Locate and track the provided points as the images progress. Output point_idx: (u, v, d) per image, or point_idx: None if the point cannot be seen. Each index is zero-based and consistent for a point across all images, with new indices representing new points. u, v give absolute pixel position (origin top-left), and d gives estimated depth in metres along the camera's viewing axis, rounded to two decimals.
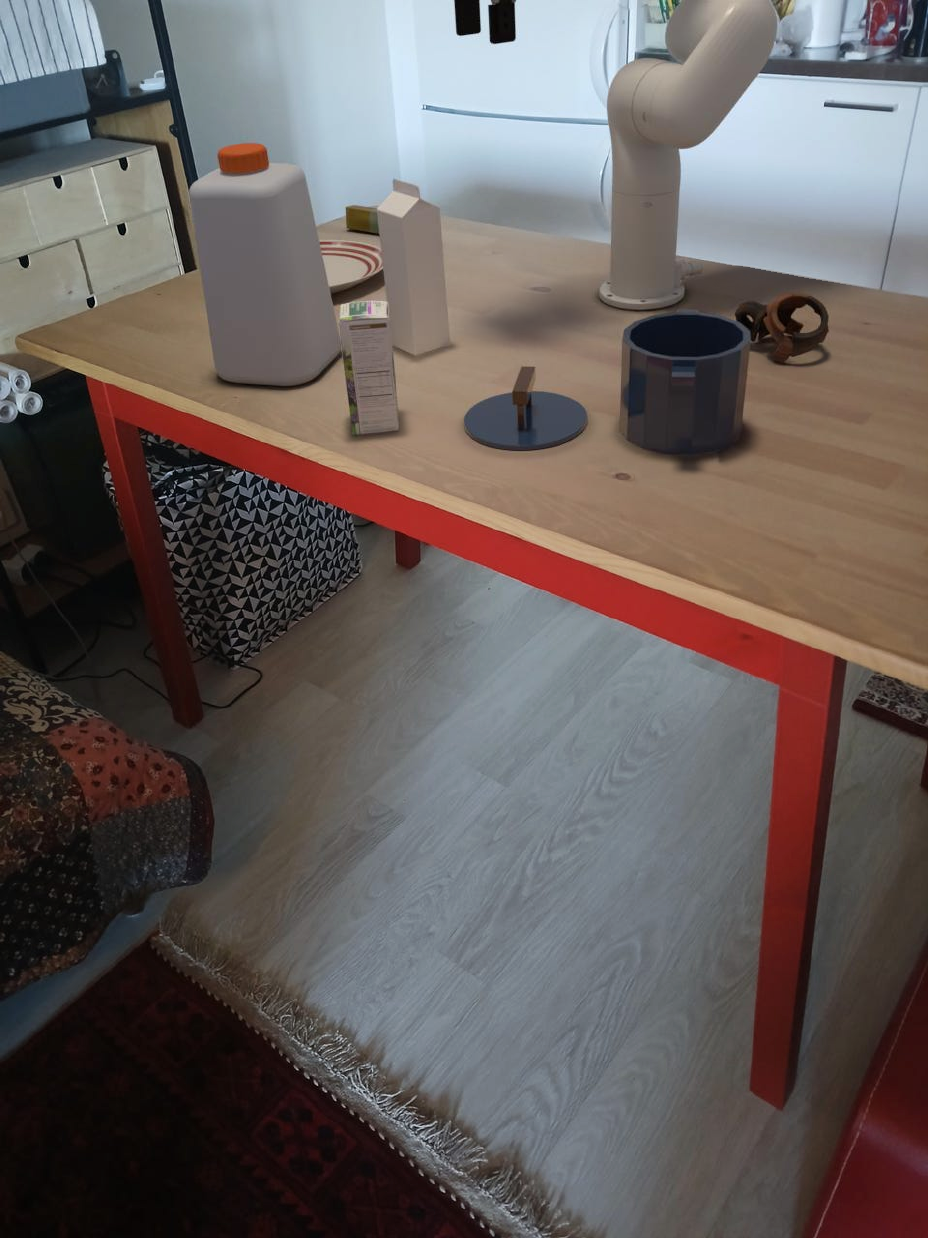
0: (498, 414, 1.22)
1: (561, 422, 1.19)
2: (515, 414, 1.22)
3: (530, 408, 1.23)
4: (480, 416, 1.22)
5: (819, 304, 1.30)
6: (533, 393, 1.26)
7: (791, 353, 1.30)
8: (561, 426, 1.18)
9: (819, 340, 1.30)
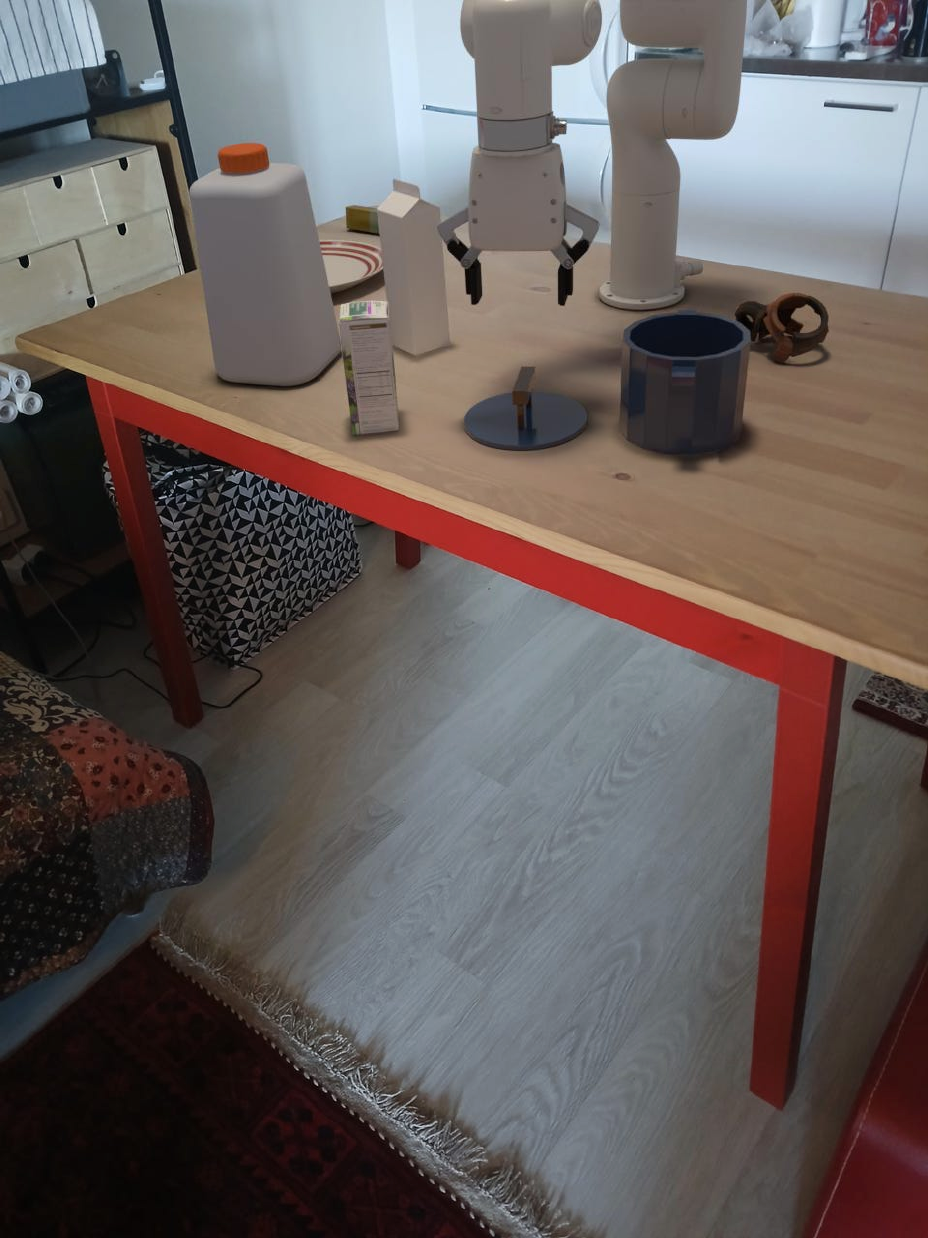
0: (498, 414, 1.22)
1: (561, 422, 1.19)
2: (515, 414, 1.22)
3: (530, 408, 1.23)
4: (480, 416, 1.22)
5: (819, 304, 1.30)
6: (533, 393, 1.26)
7: (791, 353, 1.30)
8: (561, 426, 1.18)
9: (819, 340, 1.30)
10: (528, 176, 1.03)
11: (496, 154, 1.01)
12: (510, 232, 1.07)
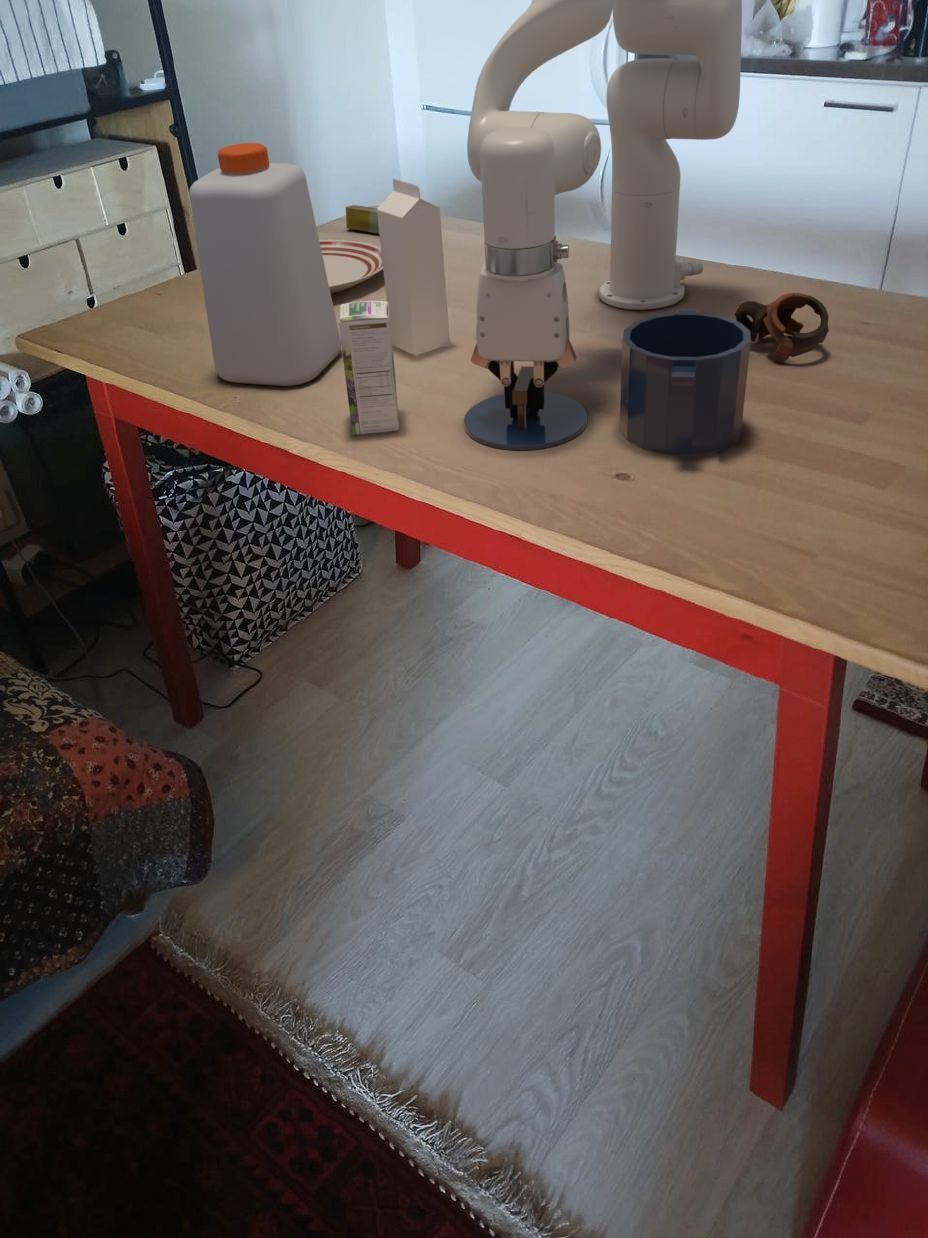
0: (498, 414, 1.22)
1: (561, 422, 1.19)
2: None
3: None
4: (480, 416, 1.22)
5: (819, 304, 1.30)
6: None
7: (791, 353, 1.30)
8: (561, 426, 1.18)
9: (819, 340, 1.30)
10: (533, 296, 1.10)
11: (503, 278, 1.08)
12: (516, 345, 1.13)
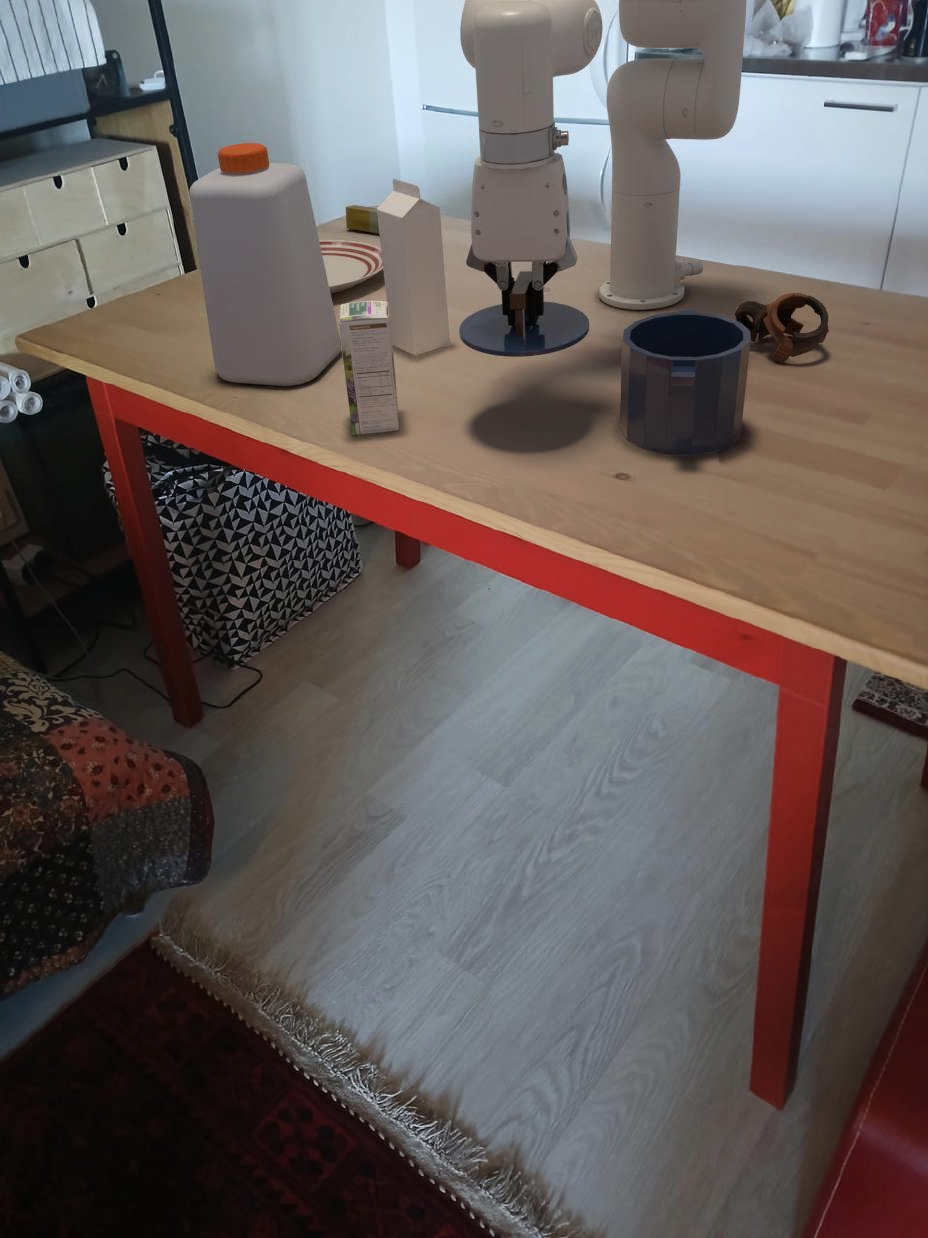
0: (495, 323, 1.16)
1: (562, 329, 1.13)
2: None
3: None
4: (476, 325, 1.16)
5: (819, 304, 1.30)
6: None
7: (791, 353, 1.30)
8: (562, 333, 1.12)
9: (819, 339, 1.30)
10: (531, 188, 1.03)
11: (498, 167, 1.01)
12: (513, 243, 1.07)
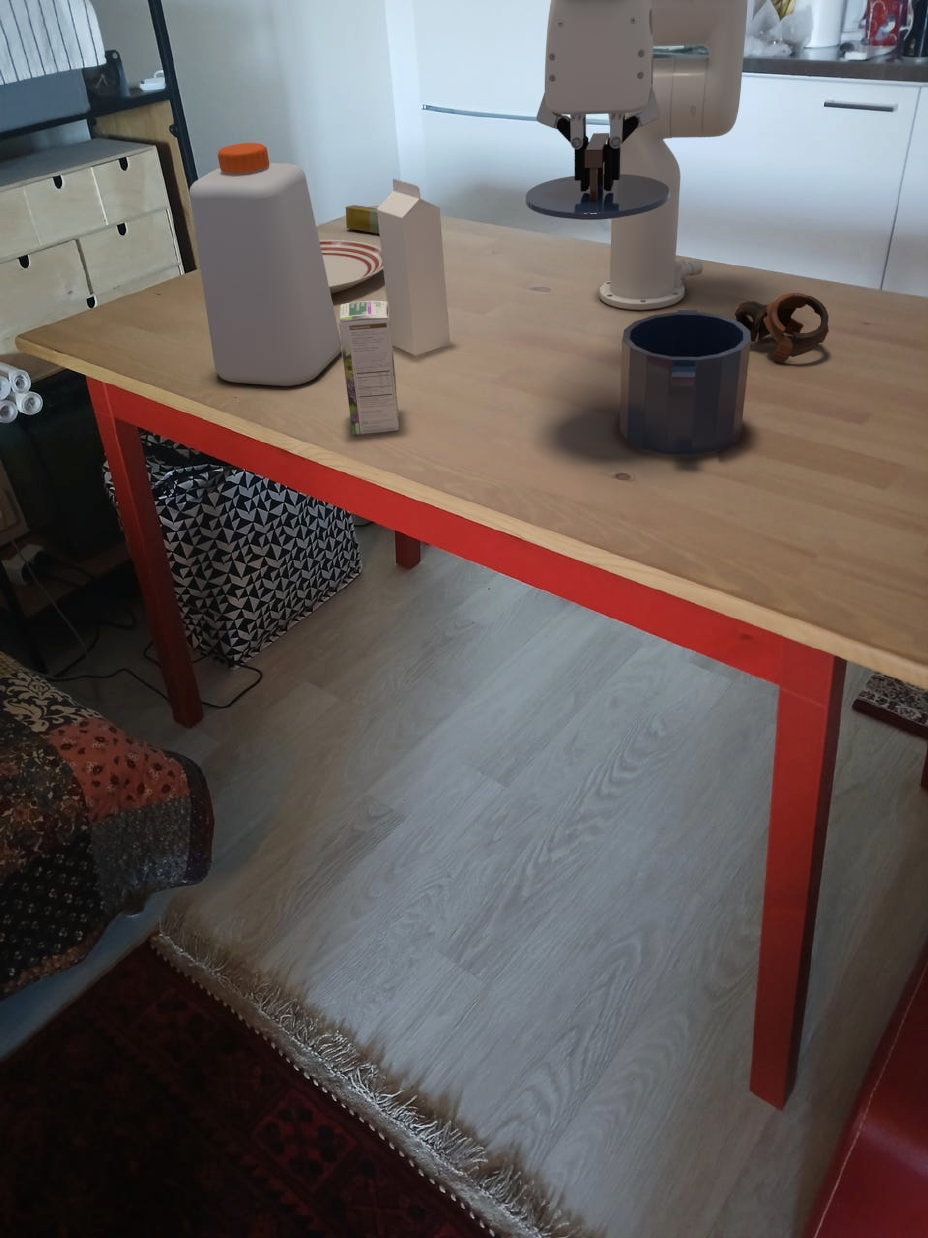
0: (565, 191, 1.05)
1: (640, 194, 1.03)
2: None
3: (602, 185, 1.06)
4: (544, 193, 1.05)
5: (819, 304, 1.30)
6: None
7: (791, 353, 1.30)
8: (640, 197, 1.02)
9: (819, 339, 1.30)
10: (614, 23, 0.93)
11: None
12: (591, 90, 0.97)
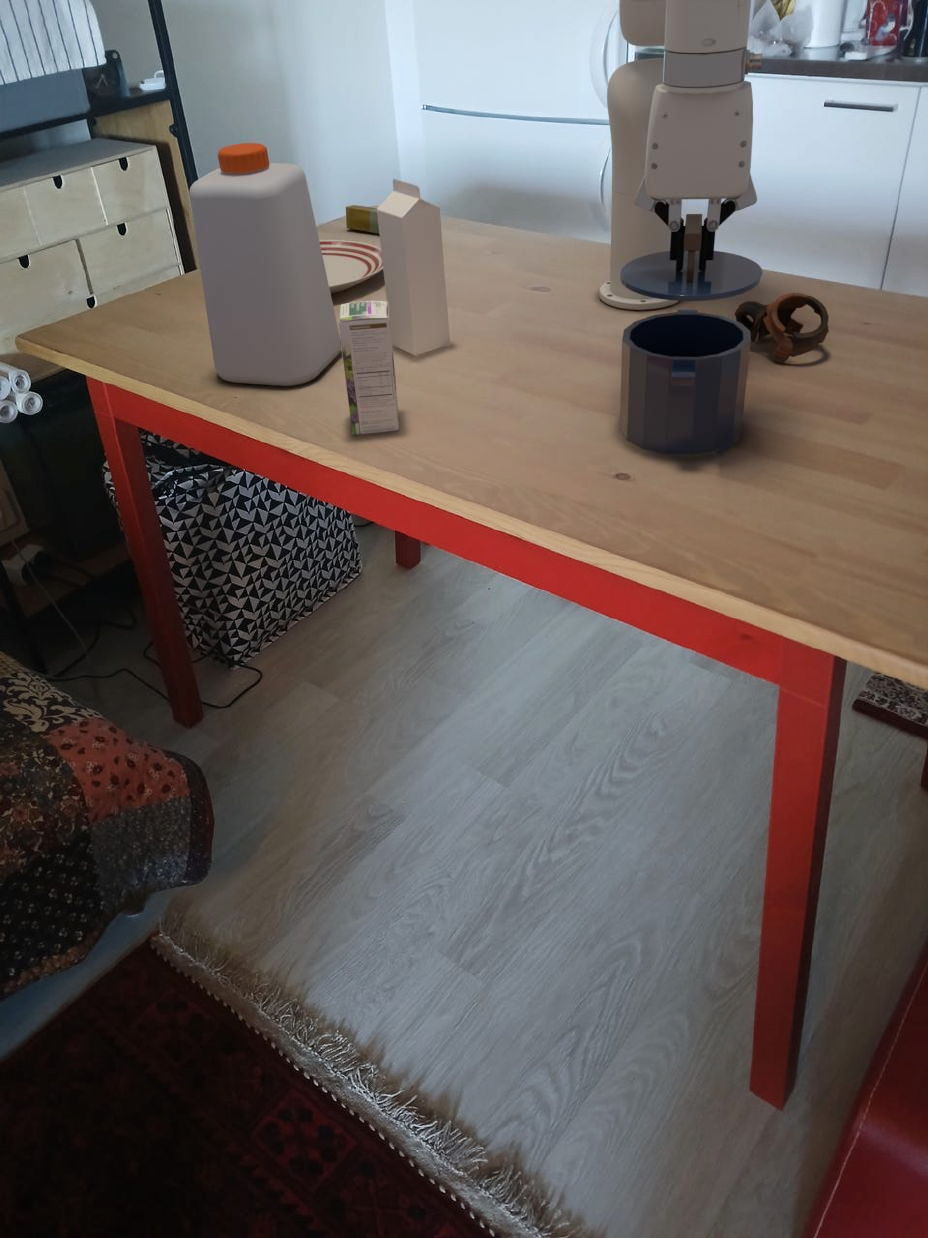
0: (658, 269, 1.08)
1: (734, 274, 1.05)
2: None
3: None
4: (638, 271, 1.08)
5: (819, 304, 1.30)
6: None
7: (791, 353, 1.30)
8: (735, 278, 1.04)
9: (819, 339, 1.30)
10: (719, 115, 0.96)
11: (687, 91, 0.94)
12: (692, 178, 1.00)
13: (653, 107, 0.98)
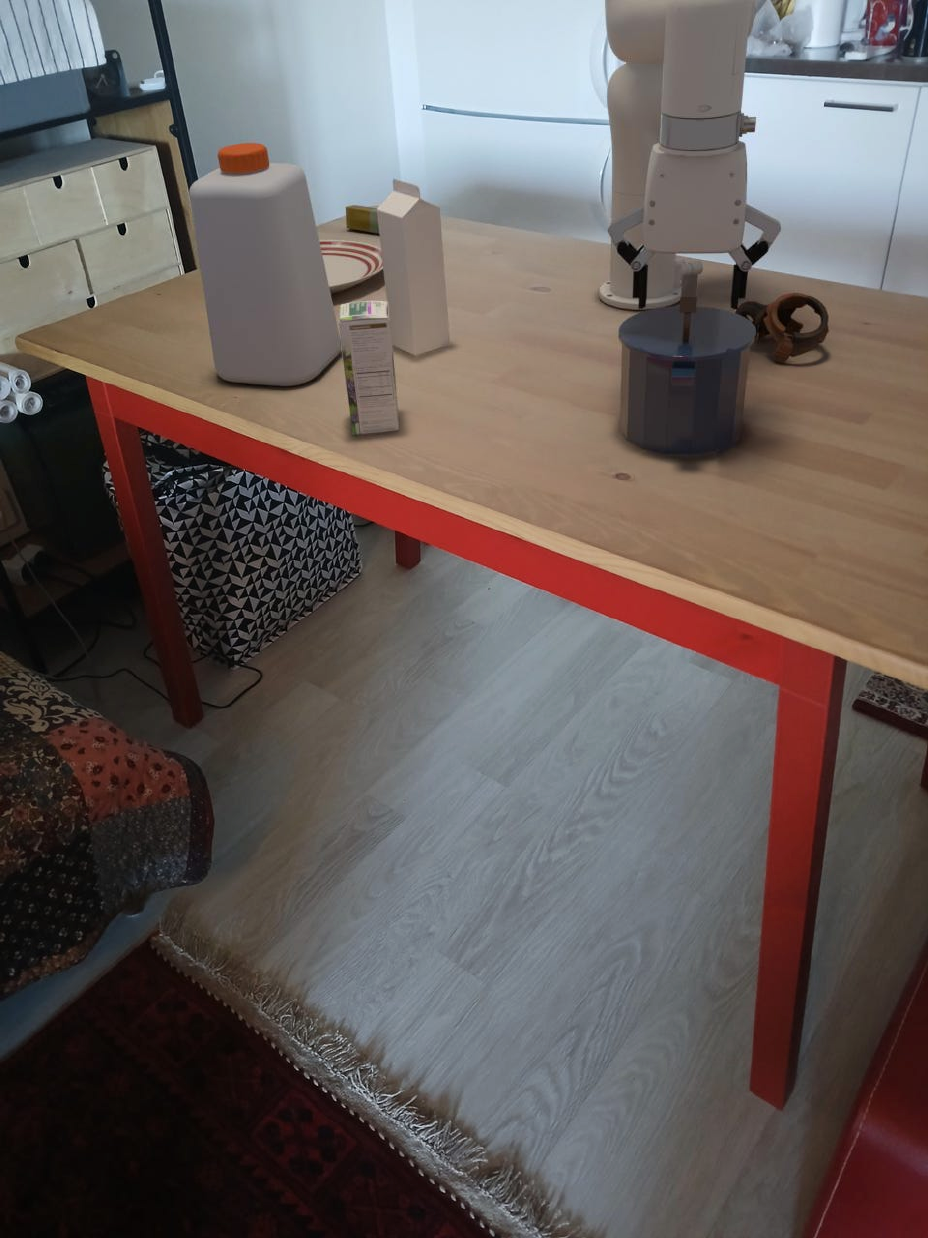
0: (655, 327, 1.12)
1: (728, 334, 1.09)
2: (674, 327, 1.12)
3: (689, 321, 1.13)
4: (636, 329, 1.12)
5: (819, 304, 1.30)
6: None
7: (791, 353, 1.30)
8: (730, 337, 1.08)
9: (819, 339, 1.30)
10: (714, 176, 0.99)
11: (683, 154, 0.97)
12: (688, 234, 1.03)
13: (650, 167, 1.01)
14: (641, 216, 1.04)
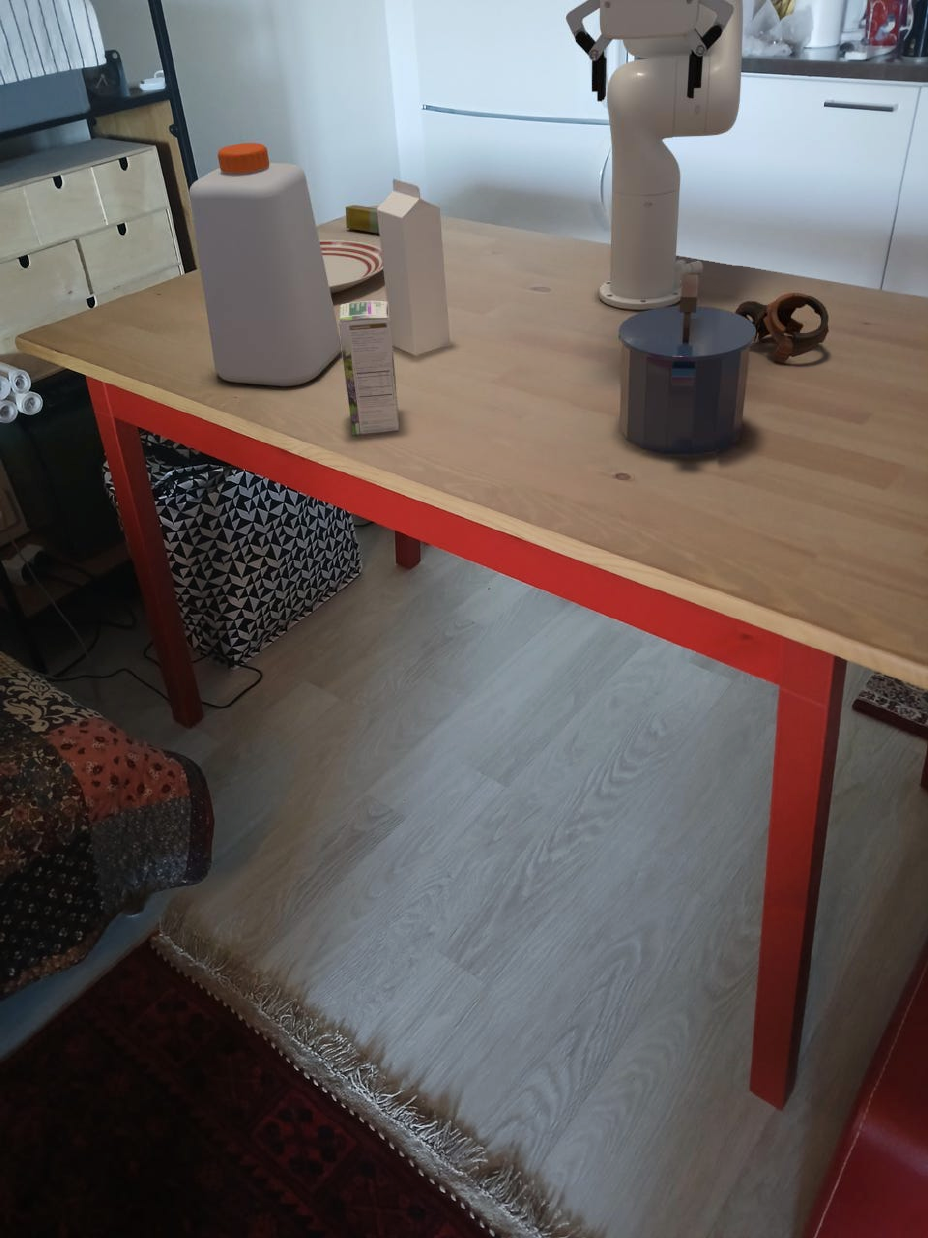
0: (655, 327, 1.12)
1: (728, 334, 1.09)
2: (674, 327, 1.12)
3: (689, 321, 1.13)
4: (636, 329, 1.12)
5: (819, 304, 1.30)
6: None
7: (791, 353, 1.30)
8: (730, 337, 1.08)
9: (819, 339, 1.30)
10: None
11: None
12: (644, 15, 1.06)
13: None
14: (598, 1, 1.07)
